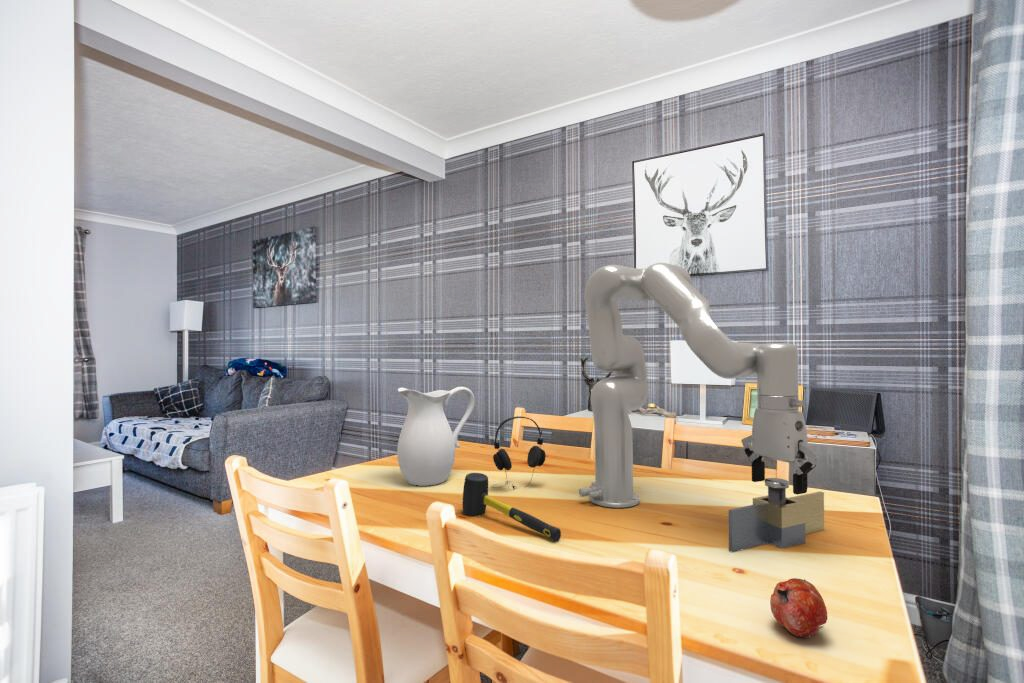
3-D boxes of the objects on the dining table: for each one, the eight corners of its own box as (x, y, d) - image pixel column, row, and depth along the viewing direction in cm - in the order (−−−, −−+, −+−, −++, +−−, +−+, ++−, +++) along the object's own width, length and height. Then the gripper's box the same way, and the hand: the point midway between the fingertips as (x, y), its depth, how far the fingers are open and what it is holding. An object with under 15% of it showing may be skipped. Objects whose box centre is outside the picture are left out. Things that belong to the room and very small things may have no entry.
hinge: (744, 558, 97) (744, 515, 97) (717, 545, 103) (716, 505, 103) (837, 534, 108) (837, 496, 108) (807, 523, 114) (807, 487, 114)
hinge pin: (779, 544, 103) (778, 484, 103) (760, 537, 107) (759, 479, 107) (794, 541, 105) (793, 482, 105) (775, 533, 109) (774, 476, 109)
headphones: (533, 478, 154) (532, 411, 154) (549, 488, 144) (548, 416, 144) (485, 484, 149) (484, 414, 149) (497, 494, 139) (497, 420, 138)
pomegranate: (793, 628, 78) (744, 592, 77) (824, 591, 77) (775, 554, 76) (825, 664, 70) (771, 625, 69) (860, 623, 70) (806, 583, 69)
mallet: (568, 539, 108) (567, 493, 108) (549, 547, 104) (548, 499, 104) (476, 508, 129) (475, 469, 129) (457, 514, 124) (456, 474, 124)
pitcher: (404, 492, 142) (402, 391, 142) (392, 477, 158) (391, 386, 157) (485, 481, 152) (484, 386, 152) (467, 468, 167) (466, 382, 167)
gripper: (830, 407, 99) (831, 496, 99) (755, 398, 115) (756, 474, 115) (804, 409, 96) (805, 501, 96) (730, 400, 112) (731, 479, 112)
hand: (778, 486), depth 106 cm, fingers open, 9 cm apart
